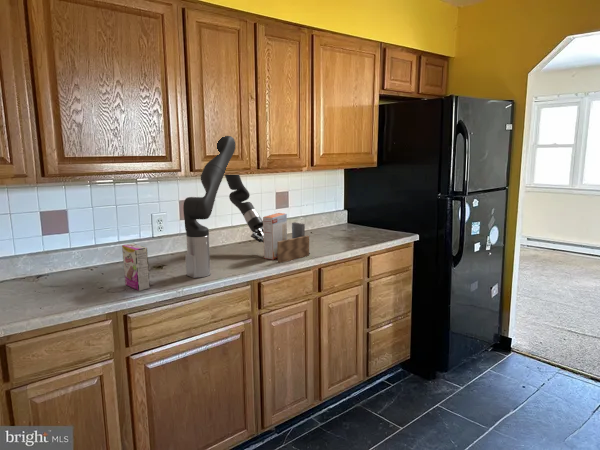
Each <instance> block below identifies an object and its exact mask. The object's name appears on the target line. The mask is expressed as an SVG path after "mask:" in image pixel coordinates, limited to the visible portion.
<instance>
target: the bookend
mask: <svg viewBox="0 0 600 450" xmlns="http://www.w3.org/2000/svg"><path fill="white" fill-rule="evenodd" d="M305 227H306V226H305V223H302V222H301V223H300V222H291V239H293V238H298V237H302V236H306V234H305ZM310 254H311V253H310V252H309V255H310Z"/></svg>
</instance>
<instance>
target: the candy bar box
mask: <svg viewBox="0 0 600 450" xmlns="http://www.w3.org/2000/svg"><path fill="white" fill-rule="evenodd" d="M121 248H122V249H121V250H122V260H123V261H122V262H123V272H124V283H125V285H126V286H127V287H129V288H131V289H134V290H136V291H138V292H140V291H145V290H148V289H150V288H151V286H150V285H151V284H150V271H149V255H148V247H145V246H142V245H139V244H137V243H133V242H132V243H127V244H123V245H121Z"/></svg>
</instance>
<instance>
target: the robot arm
mask: <svg viewBox="0 0 600 450" xmlns="http://www.w3.org/2000/svg"><path fill="white" fill-rule="evenodd" d="M224 136H225V137H222V138H221V139H220V140H219V141H218V143H217V149H218V151H219V152H220V154H219V155H217V156H216V157H212V159H211V160H209V161H208V162H207V163H206V164H205V165H204V167H203V170H202V172H201V175H200V181H201V184H202V187H203V189H204V191H205V193H204V194H205V195H204V196H201V197H200V196H189V197H186V198H185V199H184V201H183V207H182V209H183V218H184V228H185V233H186V253H185V254H184V256H185V273H186V276H187V277H191V278H193V279H196V278H204V277H208V276H210V275H211V255H210V254H211V253H210V252H211V251H210V232H209V228H208V227H207V226H205V225H203V224H201V223H199V222H198V220H209V218H210V217H211V215H212V212H213V209H214V205H215V201H216V196H217V195H218V194H217V193H218V190H219V188H220V187H221V186H220V185H221V184H222V181H223V178H224V177H225V180H226V182H227V185H228V188H229V189H230V190H232V192H230V194H229V196H228V198H229V201H230V202H231V203H232V204H233V205H234V206H235V207H236V208H237V209H238V210H239V211H240V213H241V214H242V216H243V218H244V221H245V222H246V224H247V226H248V227H249V229H250V231H251V232H252V233H251V235H250V237H251V238H252V239H254V240H255V241H257V242H258V243H263V244H264V238H263V218H262V217H261V216H260V214H259V213H258V212H257V209H256V208H255V207H254V205H253V204H252V202H251V201H247V200H249V198H250V196H251V195H250V192H249V191H248V189H247V187H245V185H244V184H243V182H242V179H241V175H240V174H239V175H224V173H225V170H226V167H227V165H228V163H230V161H231V159H232V157H233V155H234V154H235V150H236V141H235V138H234V137H233V136H231V135H224Z"/></svg>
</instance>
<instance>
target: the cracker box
mask: <svg viewBox="0 0 600 450" xmlns="http://www.w3.org/2000/svg"><path fill="white" fill-rule="evenodd" d="M287 215H288V214H287V213H284V212H276V213H273V214H269V215H265V216H262V221H263V238H264V243H263V259H267V260H276V259H278V253H277V242H278V241H283V240H288V220H287V219H288V218H287V217H288V216H287Z"/></svg>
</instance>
